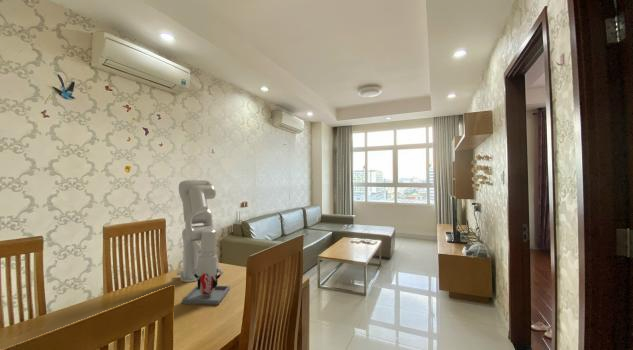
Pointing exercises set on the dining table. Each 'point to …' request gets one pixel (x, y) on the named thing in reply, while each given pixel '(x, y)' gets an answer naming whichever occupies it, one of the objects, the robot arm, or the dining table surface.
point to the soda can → (206, 284)
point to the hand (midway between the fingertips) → (207, 286)
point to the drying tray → (206, 296)
